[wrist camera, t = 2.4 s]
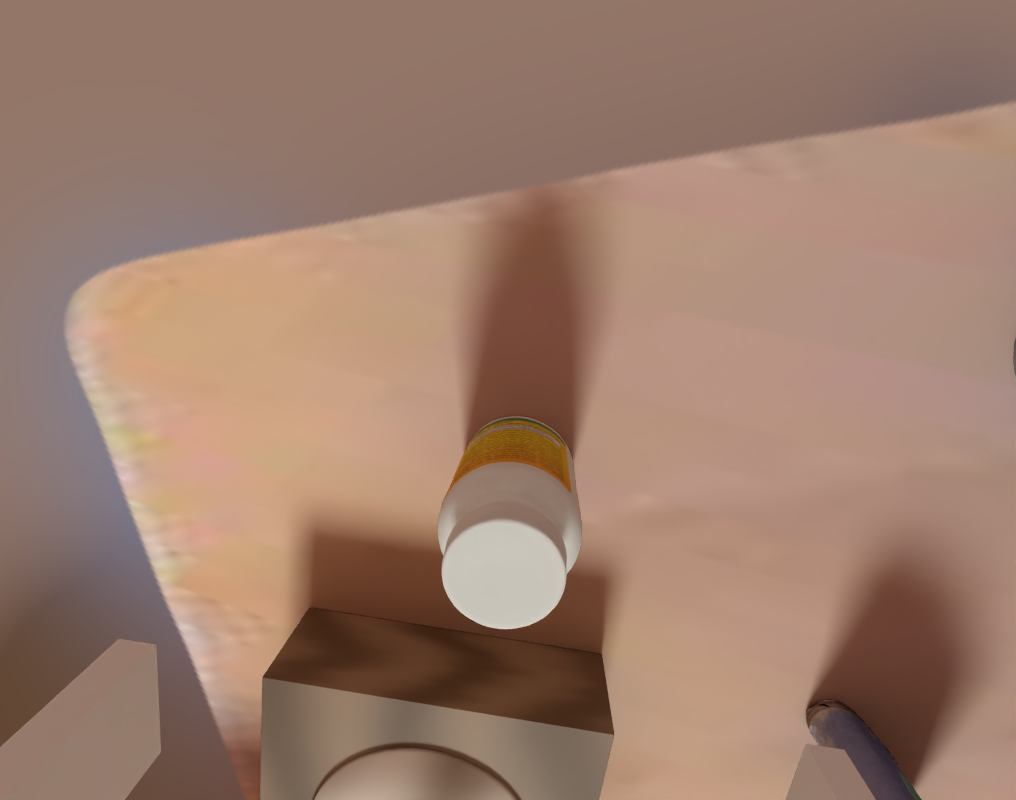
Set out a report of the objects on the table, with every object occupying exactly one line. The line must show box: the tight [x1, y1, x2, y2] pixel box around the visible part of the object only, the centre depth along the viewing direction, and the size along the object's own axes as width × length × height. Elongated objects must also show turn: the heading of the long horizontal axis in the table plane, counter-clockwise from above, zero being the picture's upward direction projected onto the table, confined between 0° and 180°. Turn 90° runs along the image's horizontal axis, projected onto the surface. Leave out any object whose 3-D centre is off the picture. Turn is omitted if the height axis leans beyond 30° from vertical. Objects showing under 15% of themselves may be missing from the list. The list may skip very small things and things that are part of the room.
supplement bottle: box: [438, 416, 582, 629], centre depth 21 cm, size 5×5×10 cm
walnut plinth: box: [260, 608, 614, 800], centre depth 28 cm, size 16×16×5 cm
